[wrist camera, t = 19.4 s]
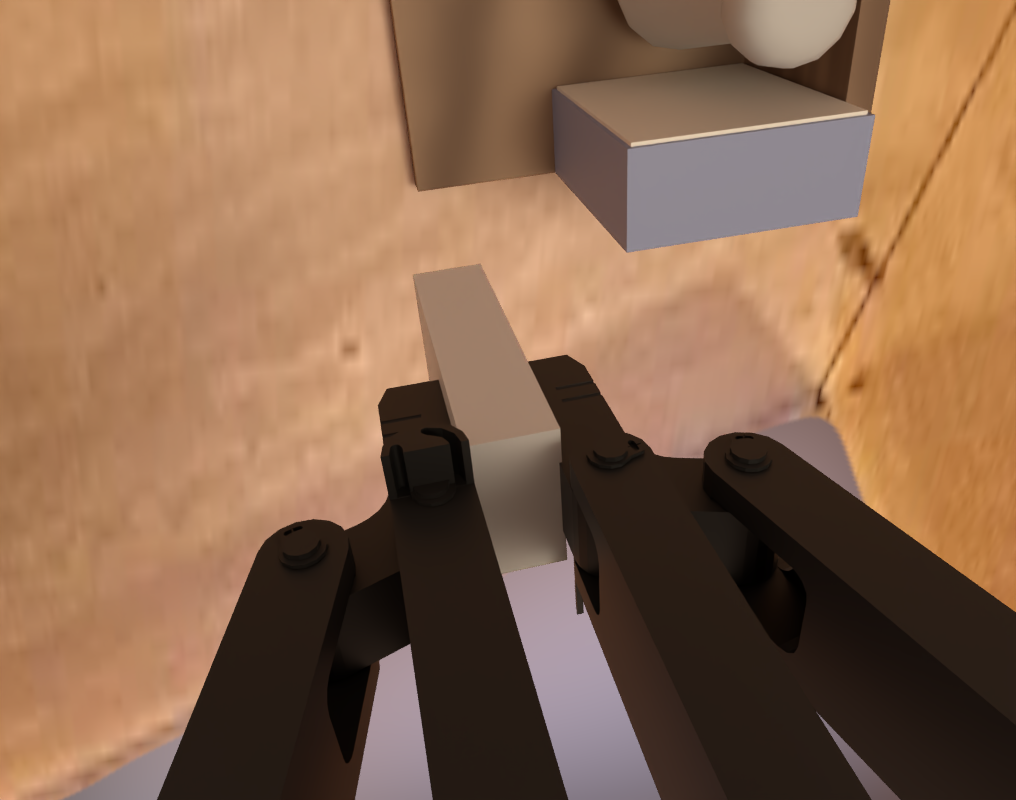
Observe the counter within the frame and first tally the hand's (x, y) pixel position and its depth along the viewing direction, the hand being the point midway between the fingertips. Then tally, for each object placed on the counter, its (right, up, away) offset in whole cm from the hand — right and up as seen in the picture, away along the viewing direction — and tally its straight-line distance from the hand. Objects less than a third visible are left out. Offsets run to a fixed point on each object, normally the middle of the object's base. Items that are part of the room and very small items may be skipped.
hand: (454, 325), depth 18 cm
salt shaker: (+8, +18, +18) cm, 27 cm away
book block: (+8, +12, +22) cm, 26 cm away
